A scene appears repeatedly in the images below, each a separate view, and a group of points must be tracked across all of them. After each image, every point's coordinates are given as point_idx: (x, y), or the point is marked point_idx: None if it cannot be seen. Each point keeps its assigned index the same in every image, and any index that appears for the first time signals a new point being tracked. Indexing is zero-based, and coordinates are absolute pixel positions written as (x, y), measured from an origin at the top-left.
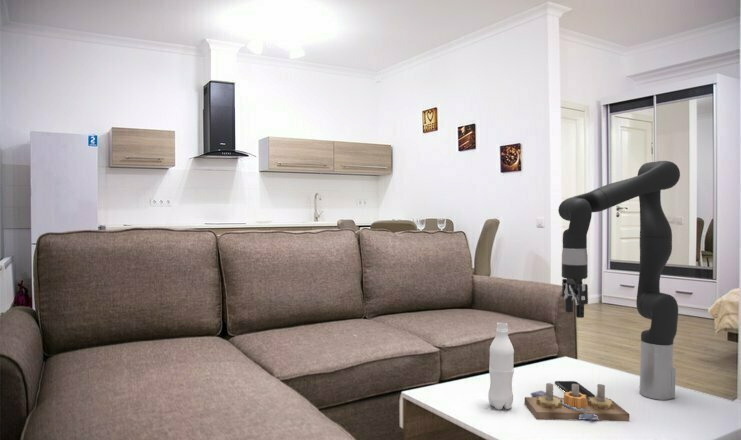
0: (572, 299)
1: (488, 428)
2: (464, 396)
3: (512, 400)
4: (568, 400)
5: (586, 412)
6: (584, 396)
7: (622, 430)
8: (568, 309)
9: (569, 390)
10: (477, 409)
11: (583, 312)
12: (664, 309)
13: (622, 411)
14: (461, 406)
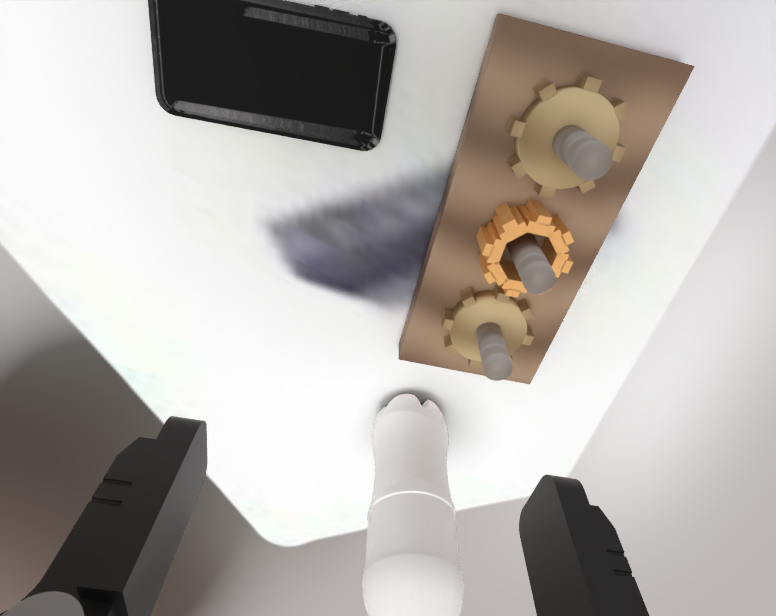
0: (81, 611)
1: (534, 482)
2: (314, 458)
3: (438, 414)
4: None
5: (597, 242)
6: (557, 231)
7: (724, 162)
8: (193, 487)
9: (294, 111)
10: None
11: (624, 557)
12: None
13: (657, 78)
14: None
